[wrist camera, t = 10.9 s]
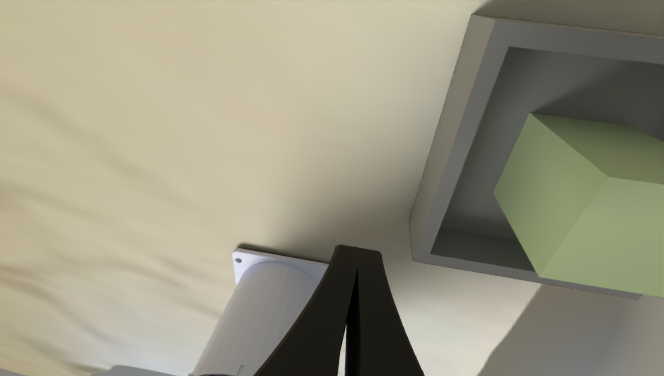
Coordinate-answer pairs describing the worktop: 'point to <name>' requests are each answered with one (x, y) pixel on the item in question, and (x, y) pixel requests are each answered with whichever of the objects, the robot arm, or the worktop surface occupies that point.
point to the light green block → (588, 202)
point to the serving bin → (506, 125)
